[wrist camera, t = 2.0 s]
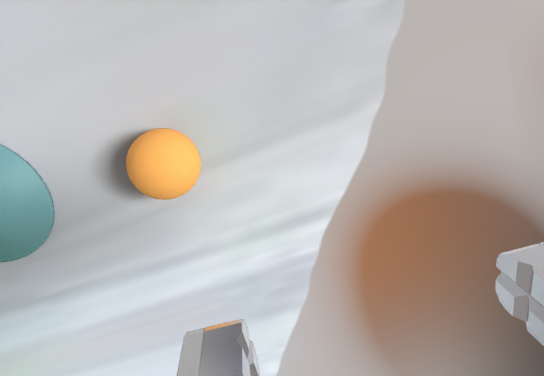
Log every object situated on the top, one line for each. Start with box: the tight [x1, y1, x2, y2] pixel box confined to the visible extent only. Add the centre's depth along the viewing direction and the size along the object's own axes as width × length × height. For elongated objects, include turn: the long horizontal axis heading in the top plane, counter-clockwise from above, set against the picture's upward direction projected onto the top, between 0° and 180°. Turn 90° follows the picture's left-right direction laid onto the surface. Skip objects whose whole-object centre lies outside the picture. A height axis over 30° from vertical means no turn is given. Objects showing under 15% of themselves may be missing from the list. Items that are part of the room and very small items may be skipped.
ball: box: [126, 128, 201, 200], centre depth 26 cm, size 6×6×6 cm
